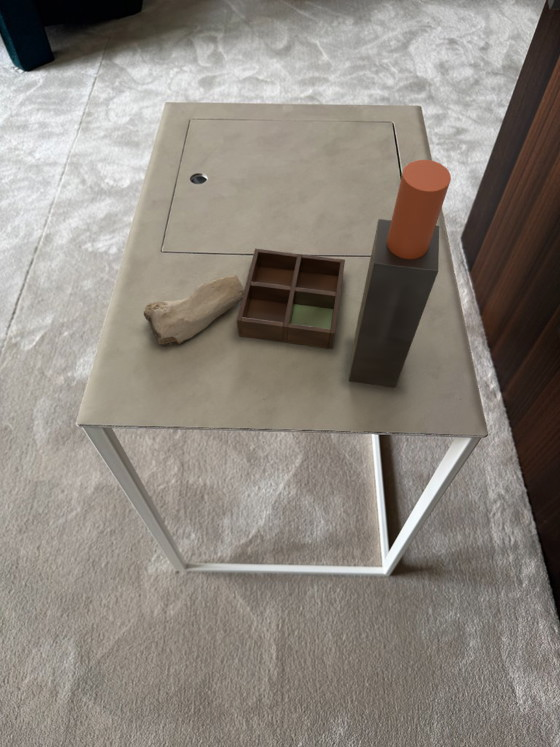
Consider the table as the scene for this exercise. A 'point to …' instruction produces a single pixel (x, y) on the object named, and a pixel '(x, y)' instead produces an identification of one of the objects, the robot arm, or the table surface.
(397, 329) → the stand
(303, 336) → the grid
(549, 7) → the robot arm
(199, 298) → the bone fragment
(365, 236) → the table surface
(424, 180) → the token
